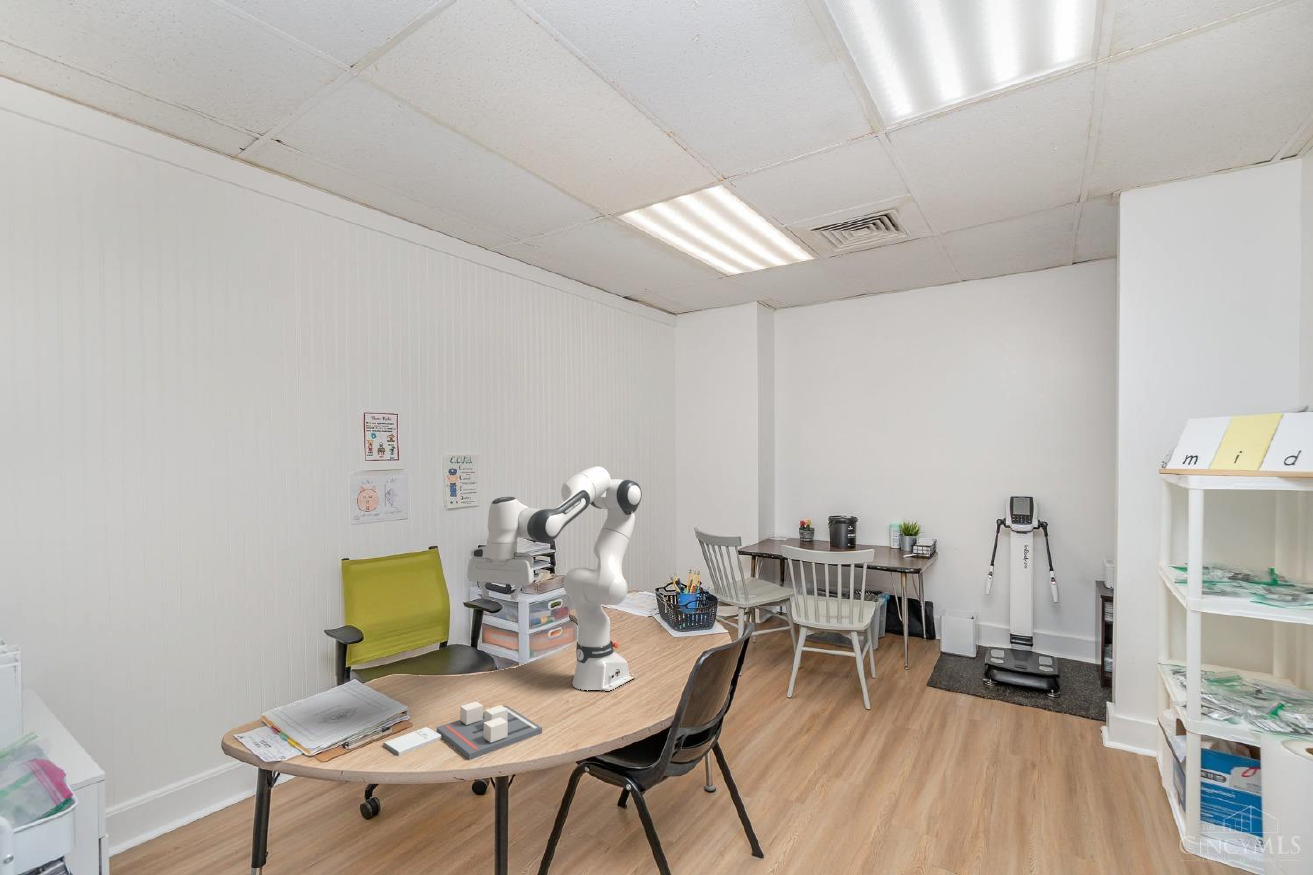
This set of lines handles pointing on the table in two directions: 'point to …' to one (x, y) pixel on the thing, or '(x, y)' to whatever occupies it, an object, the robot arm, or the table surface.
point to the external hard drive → (412, 741)
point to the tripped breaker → (496, 713)
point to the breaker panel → (471, 735)
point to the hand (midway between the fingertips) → (499, 598)
